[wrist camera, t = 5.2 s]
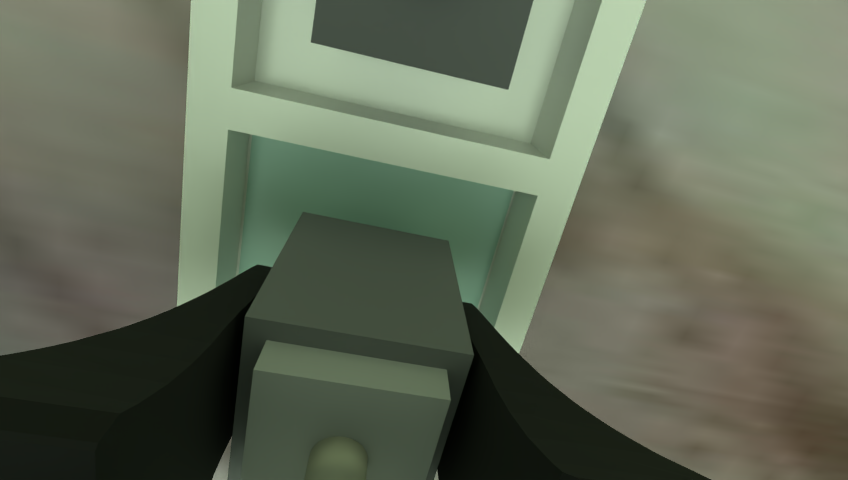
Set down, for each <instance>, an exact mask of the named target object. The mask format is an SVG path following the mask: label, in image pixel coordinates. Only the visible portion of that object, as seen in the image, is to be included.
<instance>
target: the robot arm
mask: <svg viewBox="0 0 848 480" xmlns="http://www.w3.org/2000/svg"><path fill="white" fill-rule="evenodd" d="M271 268H272V267H269V266H264V265H258V264H257V265H255V266H253V267H251V268H249V269H248V270H246V271H244V272H243V273H241V274H239V275H237V276H236V277H234V278H232V279H230V280H229V281H227V282H225V283H223V284H221V285H219V286H218V287H216V288H214V289H212V290H210V291H209V292H207V293H205V294H203V295H201V296H198V297H196V298H194V299H192V300H190V301H188V302H186V303H184V304H182V305H179V306H177V307H175V308H173V309H171V310H169V311H166V312H164V313H161V314H159V315H156V316H154V317H151V318H149V319H146V320H143V321H140V322H137V323H135V324H132V325H129V326H126V327H123V328H120V329H116V330H113V331H109V332H105V333H102V334H98V335H95V336H91V337H87V338H84V339H80V340H77V341H73V342H69V343H64V344H59V345H55V346H50V347H46V348H41V349H36V350H30V351H25V352H20V353H14V354H8V355H2V356H0V480H212V478H213V475H214V473H215V471H216V468H217V466H218V464H219V461H220V459H221V457H222V455H223V453H224V451H225V449H226V447H227V445H228V443H229V441H230V439H231V437H232V433H233V424H234V414H235V405H236V395H237V386H238V376H239V367H240V358H241V348H242V339H243V329H244V320H245V315H246V313H247V312H248V310H249V308H250V306H251V304H252V303H253V301H254V299H255V297H256V295H257V294H258V292H259V290H260V288H261V286H262V285H263V283H264V281H265V279H266V277H267V276H268V274H269V272H270V270H271ZM462 303H463V308H464V312H465V317H466V321H467V326H468V330H469V335H470V339H471V344H472V348H473V353H474V357H473V360H472V363H471V366H470V369H469V372H468V375H467V378H466V382H465V385H464V388H463V391H462V394H461V397H460V400H459V403H458V406H457V409H456V412H455V415H454V419H453V422H452V425H451V428H450V431H449V434H448V437H447V440H446V443H445V446H444V449H443V452H442V456H441V459H440V462H439V465H438V468H437V470H438V478H439V480H711V479H709V478H707V477H704V476H702V475H700V474H698V473H696V472H694V471H692V470H690V469H688V468H686V467H683V466H681V465H679V464H677V463H675V462H673V461H671V460H669V459H667V458H665V457H663V456H661V455H659V454H657V453H655V452H653V451H651V450H650V449H648V448H646V447H644V446H642V445H641V444H639V443H637V442H635V441H633V440H632V439H630V438H628V437H626V436H625V435H623V434H621V433H620V432H618V431H616V430H615V429H613V428H612V427H610V426H608V425H607V424H605V423H604V422H602V421H601V420H599V419H598V418H596V417H595V416H593V415H592V414H590V413H589V412H587V411H586V410H584V409H583V408H582V407H580V406H579V405H577V404H576V403H575V402H573V401H572V400H571V399H569V398H568V397H567V396H566V395H564V394H563V393H562V392H561V391H559V390H558V389H557V388H556V387H554V386H553V385H552V384H551V383H549V382H548V381H547V380H546V379H545V378H544V377H543V376H541V375H540V374H539V373H538V372H537V371H536V370H535V369H534V368H533V367H532V366H531V365H530V364H529V363H528V362H526V361H525V360H524V359H523V358H522V357H521V356H520V355H519V354H518V353H517V352H516V351H515V350H514V349H513V347H512V346H511V345H510V344H509V343H508V342H507V341H506V340H505V339H504V338H503V337H502V336H501V335H500V333H499V332H498V331H497V330H496V329H495V328H494V327H493V326H492V324H491V323H490V322H489V321H488V320H487V319H486V318H485V317H484V315H483V314H482V313H481V312H480V311H479V310H478V309H477V308H476V307H475V306H474V305H473V304H472V303H467V302H462Z"/></svg>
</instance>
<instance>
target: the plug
mask: <svg viewBox="0 0 848 480" xmlns="http://www.w3.org/2000/svg"><path fill="white" fill-rule="evenodd" d="M533 1H534V0H316V6H315V13H314V21H313V28H312V36H311V43H315V44H319V45H323V46H328V47H332V48H336V49H340V50H344V51H348V52H353V53H357V54H361V55H365V56H369V57H373V58H377V59H382V60H386V61H390V62H394V63H398V64H402V65H407V66H411V67H415V68H419V69H423V70H427V71H431V72H436V73H440V74H444V75H448V76H452V77H456V78H461V79H465V80H469V81H473V82H477V83H481V84H485V85H490V86H494V87H498V88H502V89H506V90H508V89H509V86H510V82H511V79H512V75H513V72H514V68H515V65H516V61H517V57H518V54H519V50H520V47H521V43H522V40H523V36H524V33H525V29H526V26H527V22H528V19H529V15H530V11H531V8H532V4H533Z"/></svg>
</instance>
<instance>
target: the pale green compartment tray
mask: <svg viewBox="0 0 848 480" xmlns="http://www.w3.org/2000/svg"><path fill="white" fill-rule="evenodd" d="M645 2H646V0H534V1H533V4H532V8H531V11H530V15H529V19H528V22H527V26H526V29H525V33H524V36H523V40H522V43H521V47H520V50H519V54H518V57H517V61H516V65H515V68H514V72H513V75H512V79H511V82H510V86H509V89H508V90H506V89H502V88H498V87H494V86H490V85H485V84H481V83H477V82H473V81H469V80H465V79H461V78H456V77H452V76H448V75H444V74H440V73H436V72H431V71H427V70H423V69H419V68H415V67H411V66H407V65H402V64H398V63H394V62H390V61H386V60H382V59H377V58H373V57H369V56H365V55H361V54H357V53H353V52H348V51H344V50H340V49H336V48H332V47H328V46H323V45H319V44H315V43H311V36H312V28H313V21H314V13H315V6H316V0H191V14H190V36H189V57H188V79H187V100H186V122H185V144H184V165H183V187H182V208H181V230H180V252H179V273H178V295H177V306H179V305H182V304H184V303H186V302H188V301H190V300H192V299H194V298H196V297H198V296H201V295H203V294H205V293H207V292H209V291H210V290H212V289H214V288H216V287H218V286H219V285H221V284H223V283H225V282H227V281H229V280H230V279H232V278H234V277H236V276H237V275H239V274H241V273H243V272H244V271H246V270H248V269H249V268H251V267H253V266H255V265H257V264H258V265H264V266H269V267H273V265H274V263H275V261H276V259H277V258H278V256H279V254H280V252H281V250H282V249H283V247H284V245H285V243H286V241H287V240H288V238H289V236H290V234H291V232H292V231H293V229H294V227H295V225H296V223H297V221H298V220H299V218H300V216H301V214H302V212H307V213H312V214H317V215H322V216H327V217H332V218H337V219H342V220H347V221H352V222H357V223H362V224H367V225H372V226H377V227H382V228H387V229H392V230H397V231H402V232H407V233H412V234H417V235H422V236H428V237H433V238H438V239H443V240H448V241H449V245H450V249H451V254H452V258H453V263H454V267H455V272H456V276H457V281H458V285H459V290H460V294H461V299H462V302H467V303H472V304H473V305H474V306H475V307H476V308H477V309H478V310H479V311H480V312H481V313H482V314H483V315H484V317H485V318H486V319H487V320H488V321H489V322H490V323H491V324H492V326H493V327H494V328H495V329H496V330H497V331H498V332H499V333H500V335H501V336H502V337H503V338H504V339H505V340H506V341H507V342H508V343H509V344H510V345H511V346H512V347H513V349H514V350H515V351H516V352H517V353H518V354H519V352H520V349H521V347H522V344H523V341H524V338H525V336H526V333H527V330H528V327H529V324H530V322H531V319H532V316H533V313H534V311H535V308H536V305H537V302H538V299H539V297H540V294H541V291H542V288H543V286H544V283H545V280H546V277H547V274H548V272H549V269H550V266H551V263H552V261H553V258H554V255H555V252H556V249H557V247H558V244H559V241H560V238H561V236H562V233H563V230H564V227H565V224H566V222H567V219H568V216H569V213H570V211H571V208H572V205H573V202H574V199H575V197H576V194H577V191H578V188H579V186H580V183H581V180H582V177H583V174H584V172H585V169H586V166H587V163H588V161H589V158H590V155H591V152H592V149H593V147H594V144H595V141H596V138H597V136H598V133H599V130H600V127H601V125H602V122H603V119H604V116H605V113H606V111H607V108H608V105H609V102H610V100H611V97H612V94H613V91H614V88H615V86H616V83H617V80H618V77H619V75H620V72H621V69H622V66H623V63H624V61H625V58H626V55H627V52H628V50H629V47H630V44H631V41H632V38H633V36H634V33H635V30H636V27H637V25H638V22H639V19H640V16H641V13H642V11H643V8H644V5H645Z"/></svg>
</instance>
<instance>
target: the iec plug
mask: <svg viewBox="0 0 848 480" xmlns="http://www.w3.org/2000/svg"><path fill="white" fill-rule="evenodd" d="M473 357H474V353H473V348H472V344H471V339H470V335H469V330H468V326H467V321H466V317H465V312H464V308H463V303H462V299H461V294H460V290H459V285H458V281H457V276H456V272H455V267H454V263H453V258H452V254H451V249H450V245H449V241H448V240H443V239H438V238H433V237H428V236H422V235H417V234H412V233H407V232H402V231H397V230H392V229H387V228H382V227H377V226H372V225H367V224H362V223H357V222H352V221H347V220H342V219H337V218H332V217H327V216H322V215H317V214H312V213H307V212H302V214H301V216H300V218H299V220H298V221H297V223H296V225H295V227H294V229H293V231H292V232H291V234H290V236H289V238H288V240H287V241H286V243H285V245H284V247H283V249H282V250H281V252H280V254H279V256H278V258H277V259H276V261H275V263H274V265H273V267H272V268H271V270H270V272H269V274H268V276H267V277H266V279H265V281H264V283H263V285H262V286H261V288H260V290H259V292H258V294H257V295H256V297H255V299H254V301H253V303H252V304H251V306H250V308H249V310H248V312H247V313H246V315H245V320H244V329H243V339H242V348H241V358H240V367H239V376H238V386H237V395H236V405H235V414H234V424H233V433H232V443H231V452H230V462H229V471H228V480H434V477H435V474H436V471H437V468H438V465H439V462H440V459H441V456H442V452H443V449H444V446H445V443H446V440H447V437H448V434H449V431H450V428H451V425H452V422H453V419H454V415H455V412H456V409H457V406H458V403H459V400H460V397H461V394H462V391H463V388H464V385H465V382H466V378H467V375H468V372H469V369H470V366H471V363H472V360H473Z"/></svg>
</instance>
